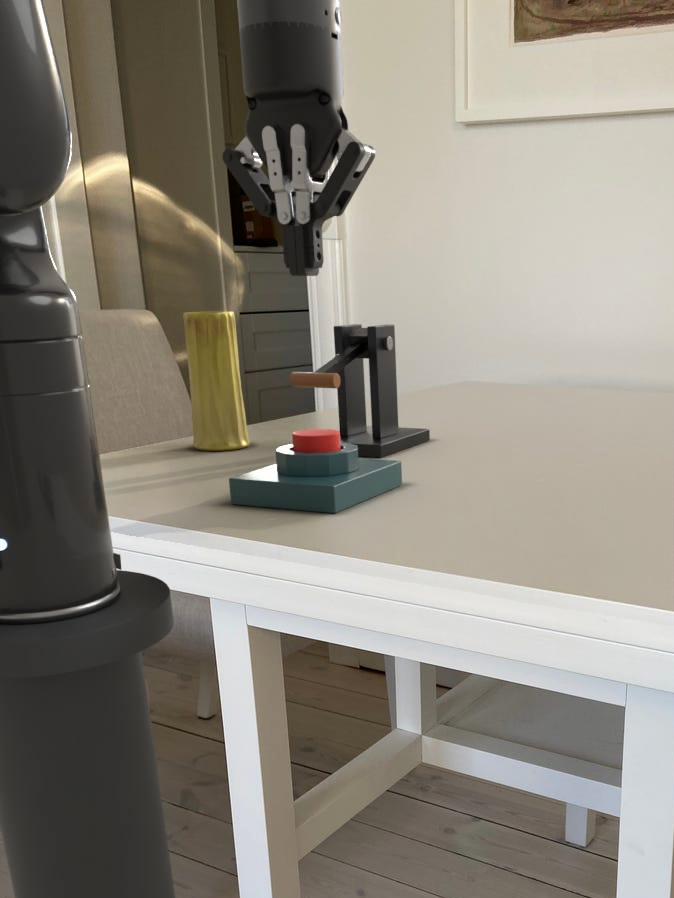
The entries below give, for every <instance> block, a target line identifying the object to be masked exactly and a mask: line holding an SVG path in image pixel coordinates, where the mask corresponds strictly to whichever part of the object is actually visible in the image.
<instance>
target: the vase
mask: <svg viewBox="0 0 674 898" xmlns="http://www.w3.org/2000/svg"><path fill="white" fill-rule="evenodd" d="M182 315H183V324H184V325H183V327H184V335H185V345H186V354H187V356H186V357H187V366H188V367H187V368H188V378H189V390H190V391H189V393H190V403H191V420H192V431H193V442H192V445H193V448H194V449H195V450H199V451H207V452H223V451H234V450H240V449H244V448H247V447H249V446H250V445H251V440H250V438H249V437H250V436H249V431H248V425H247V419H246V410H245V403H244V398H243V397H244V396H243V390H242V380H241V379H242V378H241V372H240V357H239V348H238V337H237V325H236V316H235V312H234V311H229V310H227V311H225V310H222V311H221V310H219V311H212V310H211V311H188V312H187V311H185V312H183V314H182Z"/></svg>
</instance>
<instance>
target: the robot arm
mask: <svg viewBox="0 0 674 898" xmlns="http://www.w3.org/2000/svg"><path fill="white" fill-rule="evenodd" d="M236 6H237V20H238V31H239V33H238V34H239V44H240V45H239V47H240V58H241V59H240V60H241V73H242V87H243V93H244V95H245V98H246V102H247V105H248V112H247V116H246V119H245V123H244V132H245V136H244V137H243V138H242V140H241V141H240V142H239V144H238V145H237V146H236V147H235V148H234V149H232V148H226V149H225V150H224V151H223V152H222V161H223V163H224V164H225V166H226V167H227V169H228V170H229V171H230V173H231V174H232V176H233V177H234V179H235V180H236V182H237V183H238V184H239V186H240V187H241V189H242V190H243V191H244V193H245V194H246V196H247V198H248V199H249V200H250V202H251V203H252V205H253V206H254V208H255V209H256V211H257V212H258V214H260V216H262V217H267V218H270V219H272V220H274V221H277V223H278V224H279V225H280V227H281V233H282V234H281V235H282V248H283V251H282V252H283V262H284V265H285V267H286V269H288V270H289V274H290V275H291V276H292V277H317V276H318V275H319V274H320V269H323V266H324V261H325V260H324V244H323V243H324V242H323V241H324V240H323V225H324V224H325V222H326V221H328V220H330V219H332V218H334V217H341V216H342V215H343V214H344V212H345V210H346V209H347V207H348V205H349V203H350V202H351V201H352V198H353V197H354V195H355V193H356V191H357V190H358V188H359V186H360V184H361V183H362V181H363V180H364V178H365V176H366V174H367V172H368V171H369V169H370V167H371V165H372V163H373V162H374V160H375V158H376V150H375V148H374V147H373V146H372V145H370V144H366V143H363V142H362V141H361V140H360V139H358V138H357V137H356V136H355V135H354V134H353V133H352V132H350V131H349V128H350V127H349V126H350V125H349V119H348V118H347V116H346V113H345V111H344V108H343V98H344V92H345V91H344V70H343V69H344V68H343V67H344V66H343V46H342V45H343V44H342V13H341V1H340V0H236ZM57 58H58V57H57V54H56V50H55V46H54V42H53V38H52V32H51V28H50V24H49V20H48V15H47V12H46V7H45V2H44V0H0V624H13V625H20V624H38V623H48V622H55V621H61V620H67V619H71V618H76V617H80V616H83V615H87V614H90V613H94V612H96V611H99V610H101V609H104V608H106V607H108V606H110V605H111V604H113V603H115V602H116V601H117V600H118V599H119V598H120V596H121V592H120V585H119V582H118V581H117V570H121V571H122V559H121V558H122V557H121V554H120V553H116V552H114V549H113V548H114V547H113V540H112V534H111V526H110V519H109V513H108V506H107V505H108V504H107V498H106V491H105V484H104V477H103V471H102V463H101V457H100V451H99V450H100V449H99V442H98V435H97V429H96V422H95V421H96V420H95V415H94V407H93V401H92V394H91V388H90V387H91V386H90V381H89V380H90V378H89V373H88V365H87V359H86V353H85V352H86V351H85V345H84V337H83V336H82V334H83V332H82V331H83V330H82V324H81V317H80V310H79V305H78V301H77V297H76V295H75V293H74V292H73V290H72V289H71V287H70V286H69V285H68V284H67V283H66V282H65V280H64V279H63V278H62V276H61V275H60V272H59V271H58V269H57V267H56V265H55V262H54V260H53V257H52V254H51V249H50V246H49V241H48V236H47V229H46V225H45V220H44V219H45V218H44V214H43V208H42V206H43V205H45V204H46V203H48V202H49V200H51V199H52V198H53V196H54V195H55V194H56V193H57V191H58V190H59V189H60V187H61V185H62V184H63V182H64V180H65V179H66V176H67V173H68V169H69V165H70V162H71V158H72V140H73V136H72V135H73V134H72V125H71V118H70V112H69V108H68V107H69V106H68V102H67V96H66V92H65V88H64V83H63V79H62V75H61V71H60V66H59V63H58V62H59V61H58V59H57ZM335 159H337V163H336V165H335V167H334V169H333V171H331V174H330V173H329V172H330V169H331V167H332V165H333V163H334V162H335ZM263 164H264V166H265V167H266V169H267V172H268V177H267V175H266V174H265V173H264V171H263V170H262V168H261V167H262V166H263Z"/></svg>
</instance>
